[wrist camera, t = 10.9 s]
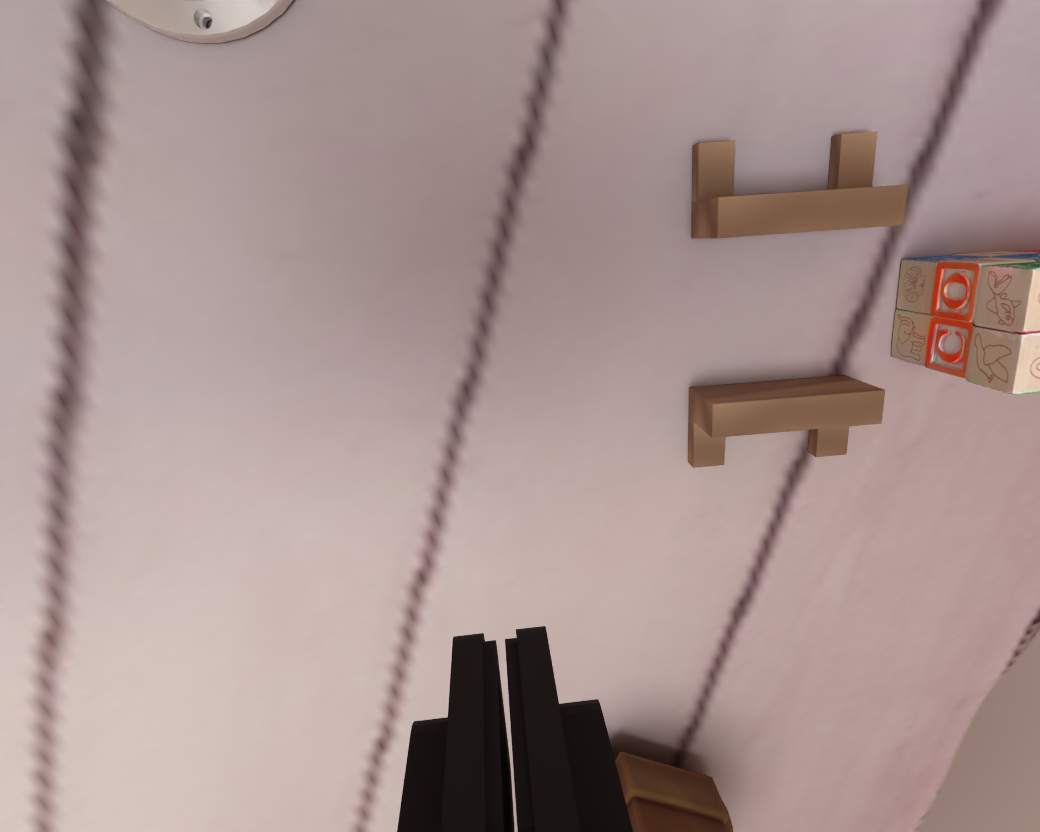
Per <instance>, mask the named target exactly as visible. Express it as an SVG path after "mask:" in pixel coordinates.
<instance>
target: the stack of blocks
mask: <svg viewBox="0 0 1040 832" xmlns="http://www.w3.org/2000/svg"><path fill="white" fill-rule="evenodd" d="M892 357H895V358H898V359H901V360H904V361H907V362H912V363H916V364H919V365H923V366H925V367H927V368H930V369H933V370H937V371H940V372H944V373H947V374H951V375H954V376H958V377H962V378H966V380H967V381H968V382H971V383H974V384H978V385H981V386H984V387H988V388H991V389H995V390H998V391H1002V392H1005V393H1009V394H1026V393H1036V392H1040V251H1026V252H1004V251H996V252H981V253H967V254H954V255H950V256H937V257H923V258H911V259H903V260H902V263H901V270H900V278H899V287H898V297H897V309H896V311H895V319H894V328H893V338H892Z"/></svg>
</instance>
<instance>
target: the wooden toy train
mask: <svg viewBox="0 0 1040 832" xmlns="http://www.w3.org/2000/svg"><path fill="white" fill-rule="evenodd" d="M615 763H616V767H617V771H618V774H619V778H620V782H621V786H622V790H623V794H624V798H625V801H626V805H627V809H628V813H629V817H630V821H631V824H632V828H633V832H733V827H732V823H731V820H730V817H729V813H728V811H727V808H726V806H725V805H724V803H723V801H722V799H721V797H720V795H719V793H718V790H717V788H716V786H715V783H714V781H713V779H712V777H709V776H705V775H702V774H698V773H695V772H691V771H688V770H684V769H681V768H677V767H674V766H670V765H667V764H663V763H660V762H656V761H653V760H649V759H646V758H642V757H639V756H635V755H632V754H628V753H625V752H621V751H620V753H619V755H618V757H617V758H616V760H615Z"/></svg>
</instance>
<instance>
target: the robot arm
mask: <svg viewBox="0 0 1040 832" xmlns="http://www.w3.org/2000/svg"><path fill="white" fill-rule="evenodd" d="M107 1H108V2H109V3H111V4H112V5H113V6H115V7H116V8H117V9H119V10H120V11H121V12H123V13H124V14H125V15H127V16H128V17H130V18H132V19H133V20H135V21H137V22H138V23H140V24H142V25H143V26H145V27H147V28H149V29H151V30H154V31H156V32H158V33H161V34H163V35H166V36H168V37H171V38H175V39H179V40H184V41H189V42H194V43H222V42H227V41H231V40H236V39H240V38H244V37H246V36H248V35H250V34H252V33H254V32H257V31H259V30H261V29H263V28H265V27H266V26H267V25H268V24H270V23H271V22H272V21H274V20H275V19H276V18H277V17H279V16H280V15H281V14H282V13H283V12H284V11H285V10H286V9H287V7H288V6H289V5H290V4H291V3H292V1H293V0H107ZM209 20H212V25H211V26H210V28H208V29H207V27H206V23H207V22H208V21H209ZM516 634H517V638H512V639H505V645H506V660H507V676H508V691H509V706H510V721H511V736H512V751H513V766H514V781H515V797H516V812H517V826H518V832H633V828H632V824H631V821H630V817H629V813H628V809H627V805H626V801H625V798H624V794H623V790H622V786H621V782H620V778H619V774H618V771H617V767H616V763H615V759H614V755H613V751H612V748H611V744H610V740H609V736H608V732H607V728H606V725H605V721H604V717H603V713H602V709H601V706H600V703H599V701H598V699H597V700H588V701H580V702H572V703H564V704H559V702H558V696H557V690H556V684H555V679H554V673H553V667H552V661H551V655H550V650H549V644H548V638H547V632H546V627H545V626H542V627H533V628H525V629H516ZM397 832H514V816H513V800H512V783H511V769H510V758H509V749H508V741H507V732H506V723H505V715H504V706H503V697H502V689H501V680H500V671H499V663H498V654H497V645H496V640H494V641H486V642H485V639H484V634H483V633H482V634H473V635H464V636H456V637H454V638H453V646H452V662H451V678H450V694H449V710H448V718H439V719H431V720H423V721H415V722H414V723H413V725H412V729H411V735H410V742H409V750H408V757H407V764H406V772H405V779H404V786H403V794H402V801H401V808H400V816H399V823H398V830H397Z"/></svg>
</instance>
